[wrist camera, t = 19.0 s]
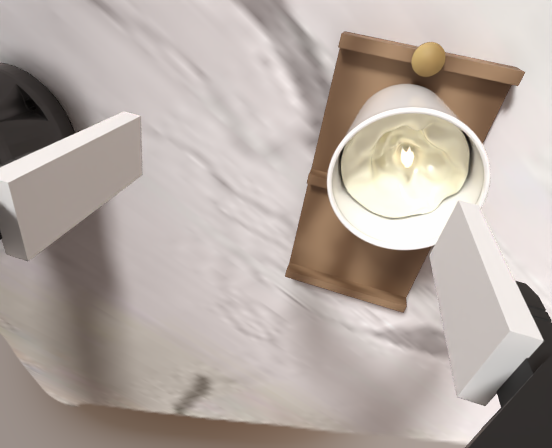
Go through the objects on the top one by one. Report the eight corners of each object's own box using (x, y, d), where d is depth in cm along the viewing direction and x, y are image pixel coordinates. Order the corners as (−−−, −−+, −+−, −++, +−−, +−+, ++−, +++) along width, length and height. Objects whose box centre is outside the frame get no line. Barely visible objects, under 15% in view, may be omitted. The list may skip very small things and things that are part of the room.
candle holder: (486, 123, 31) (530, 182, 21) (400, 200, 37) (403, 274, 27) (399, 47, 30) (403, 71, 20) (323, 137, 35) (297, 191, 26)
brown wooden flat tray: (289, 264, 46) (284, 279, 43) (346, 22, 31) (343, 24, 29) (402, 297, 44) (403, 315, 41) (520, 57, 29) (532, 63, 27)
